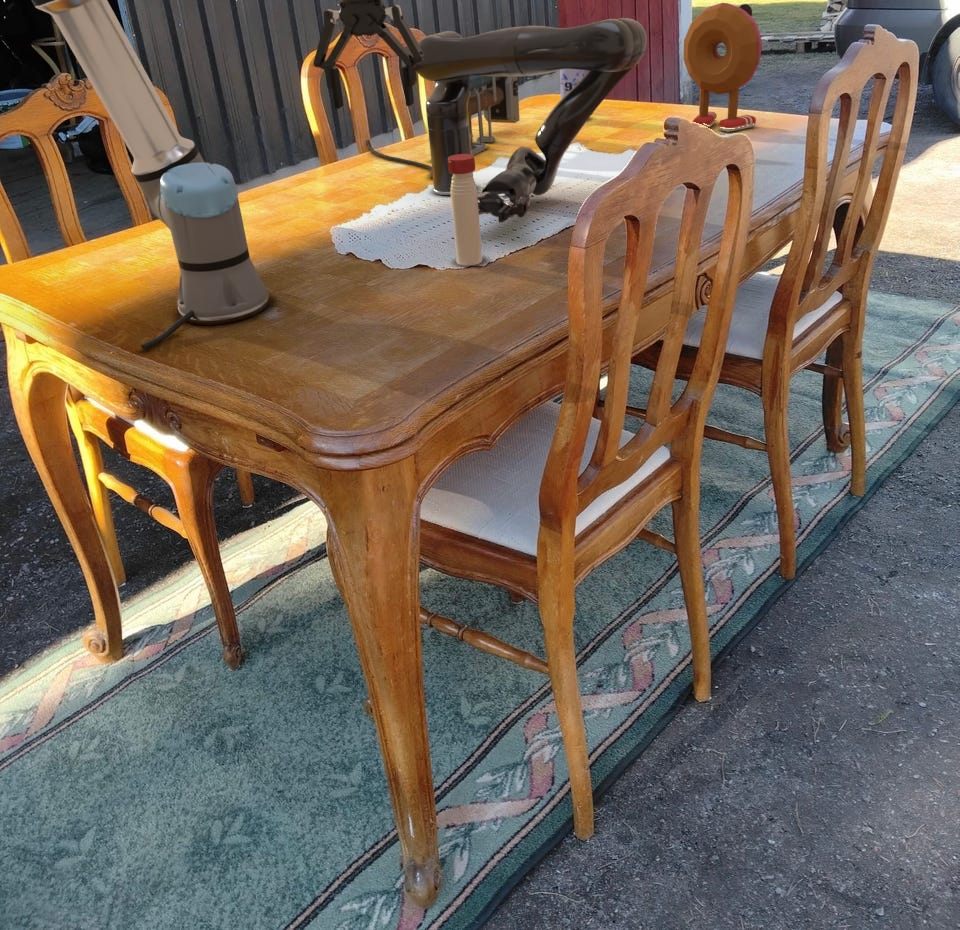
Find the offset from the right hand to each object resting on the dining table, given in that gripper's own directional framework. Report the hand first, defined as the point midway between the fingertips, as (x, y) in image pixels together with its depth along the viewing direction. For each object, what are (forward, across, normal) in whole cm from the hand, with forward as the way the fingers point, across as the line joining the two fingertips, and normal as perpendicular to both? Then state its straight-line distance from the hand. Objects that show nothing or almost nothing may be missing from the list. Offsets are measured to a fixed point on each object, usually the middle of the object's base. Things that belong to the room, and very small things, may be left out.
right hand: (478, 216), depth 179 cm
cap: (+5, 0, -12) cm, 13 cm away
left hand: (-2, -20, -19) cm, 28 cm away
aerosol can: (-115, -13, +7) cm, 116 cm away
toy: (-104, +30, +7) cm, 109 cm away
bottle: (+5, 0, +7) cm, 9 cm away
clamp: (-82, -31, +7) cm, 88 cm away
